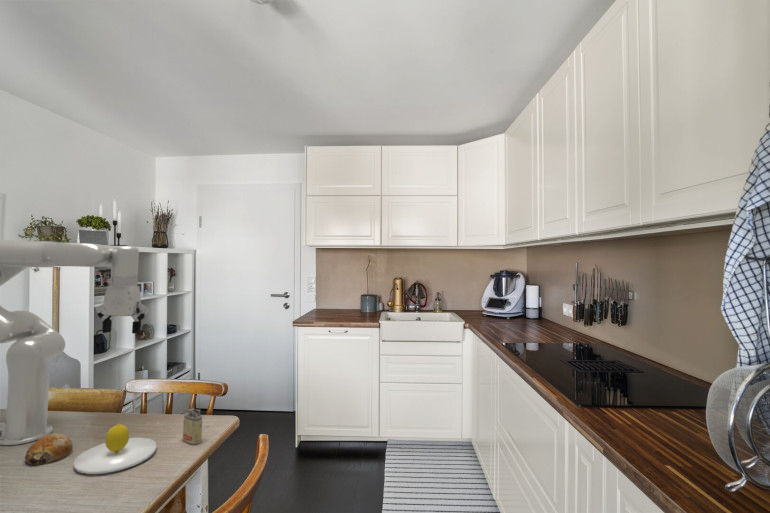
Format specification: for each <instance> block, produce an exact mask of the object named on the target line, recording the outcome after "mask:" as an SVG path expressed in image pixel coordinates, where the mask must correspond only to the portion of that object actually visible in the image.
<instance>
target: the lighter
mask: <svg viewBox="0 0 770 513" xmlns="http://www.w3.org/2000/svg"><path fill="white" fill-rule="evenodd" d="M182 429H183V430H182V441H183V442H185V443H187V444H189V445H199V444H200V443H202V442H203V440H202V439H203V438H202V437H203V436H202V432H203V416H202V414H201V409H195V408H194V407H190V408H187V409H186V413H185V414H184V416H183V428H182Z"/></svg>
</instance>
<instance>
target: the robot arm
mask: <svg viewBox="0 0 770 513" xmlns="http://www.w3.org/2000/svg"><path fill="white" fill-rule="evenodd" d="M139 251H140V250H139V248H138V247H135V246H130V245H129V246H127V245H126V246H125V245H117V246H111V245H110V246H109V245H104V244H98V243H89V242H88V243H85V242H83V243H82V242H81V243H80V242H55V241H45V240H44V241H43V240H41V241H39V240H16V239H15V240H13V239H12V240H10V239H1V240H0V287H1V286H2V285H5V284H6V283H7V282H8V281H10V280H11V279H13V278H14V277H16V276H17V275H19V274H20V273H22V272H23V271H24V270H25V269H27V268H53V267H85V268H91V267H93V268H94V267H95V268H105V267H111V268H110V278H108V279H107V281H106V282H107V283H109V284H110V285H108V286H107V287H106V290H105V294H104V297H103V304H101V305H98V306H96V307H95V308H94V309H95V311H96V314H97V316H98V318H100V321H102V334H106V333H111V332H112V323H113V321H112V318H113V317H131V318H132V319H133V321H132V327H131V328H132V329H131V333H132V334H138V333H140V332H141V329H142V321H143V320H144V319H145V318H146V317H147V314H148V313H149V312H150V310H151V308H150V307H148V306H147V305H144V304H142V303H141V302H142V301H141V300H142V299H141V297H142V296H141V290H140V286H138V275H139V255H140V252H139ZM141 310H142V312H141ZM11 342H13V343H12V344H11V345H9V348H8V349H7V352H6V355H5V362H6V368H7V396H6V397H7V398H6V413H5V422H4V421H3V422H0V432H1V435H0V445H1V446H15V445H21V444H27V443H31V442H36V441H38V440H39V439H41V438H42V437H44V436H46V435H50V434H52V432H53V429H54V428H53V426H52V425H49V424H48V408H49V393H50V392H49V390H50V372H49V368H48V363H47V362H48V361H52V360H54V359H55V358H57V357H58V356H60V355H61V354H62V353H63V352H64V351H65V347H66V340H65V339H64V337H63V335H61V333H60V332H58V331H57V329H55V328H53V327H52V326H51V325H50V324H49V323H47V322H46V321H45V320H44V319H42V318H41V317H40V316H39V315H37V314H35V313H32V312H30V311H28V310H14V311H11V310H7V309H6V308H4V307H3V306H2V305H0V344H7V343H11Z"/></svg>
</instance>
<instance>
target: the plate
mask: <svg viewBox="0 0 770 513" xmlns="http://www.w3.org/2000/svg"><path fill="white" fill-rule="evenodd" d="M156 451H157V443H156V441H155V440H153V439H150V438H147V437H129V440H128V443H127V445H126V446H125V447H124V448H123V449H121V450H119V452H117V453H115V452H114V451H110V450H109V449H108V448H107V447H106V443H105V442H103V443H100V444H98V445H96V446H93V447H91V448H89V449H87V450H85V451H83V452H81V453H80V454H79V455H78V456H77V457H76V458H75V460H74V463H73V468H74V470H75V471H77V472H78V473H81V474H85V475H99V474H108V473H113V472H114V473H115V472H118V471H122V470H125V469H128V468H131V467H134V466H136V465H138V464H141V463H143V462H144V461H146V460H148V459H149V458H151V457H152V456H153V455H154V454H155V453H156Z"/></svg>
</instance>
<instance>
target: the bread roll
mask: <svg viewBox="0 0 770 513" xmlns="http://www.w3.org/2000/svg"><path fill="white" fill-rule="evenodd" d="M73 447H74V445H73V440H72V439H71V438H70V437H68V436H67V435H66V434H63V433H56V432H55V433H50V434H49V435H46V436H44V437H42V438H41V439H38V440H35V441H34V443H33V444H32V445H31V446H29V448H28V449H27V451H26V453H25V456H24V460H25V462H26V464H28V465H32V466H40V465H46V464H51V463H53V462H57V461H61V460H62V459H64V458H66V457H67V456H69V455H70V454H72V451H73V449H74V448H73Z"/></svg>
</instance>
